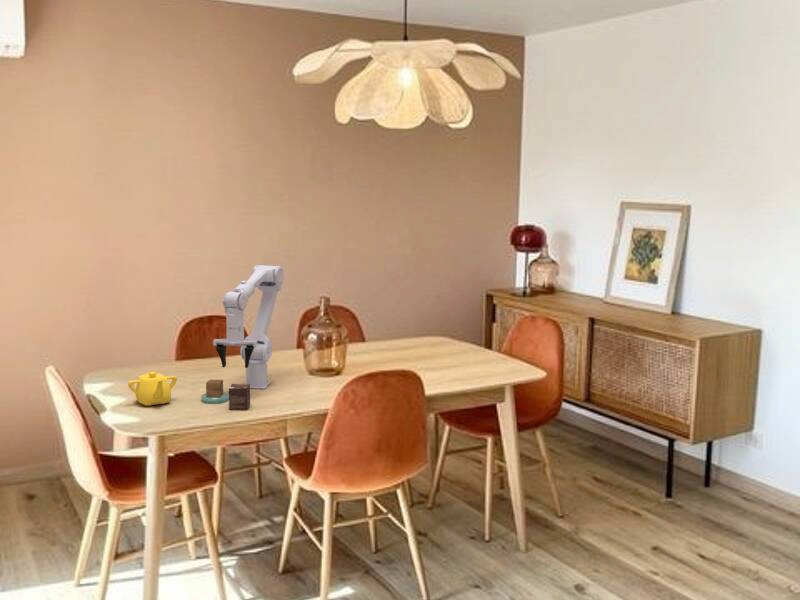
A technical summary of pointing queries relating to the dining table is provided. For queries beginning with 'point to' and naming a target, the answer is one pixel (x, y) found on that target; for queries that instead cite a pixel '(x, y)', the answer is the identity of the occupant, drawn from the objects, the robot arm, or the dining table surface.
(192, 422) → the dining table surface
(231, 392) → the box
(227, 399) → the coaster
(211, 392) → the walnut block
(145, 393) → the teapot
